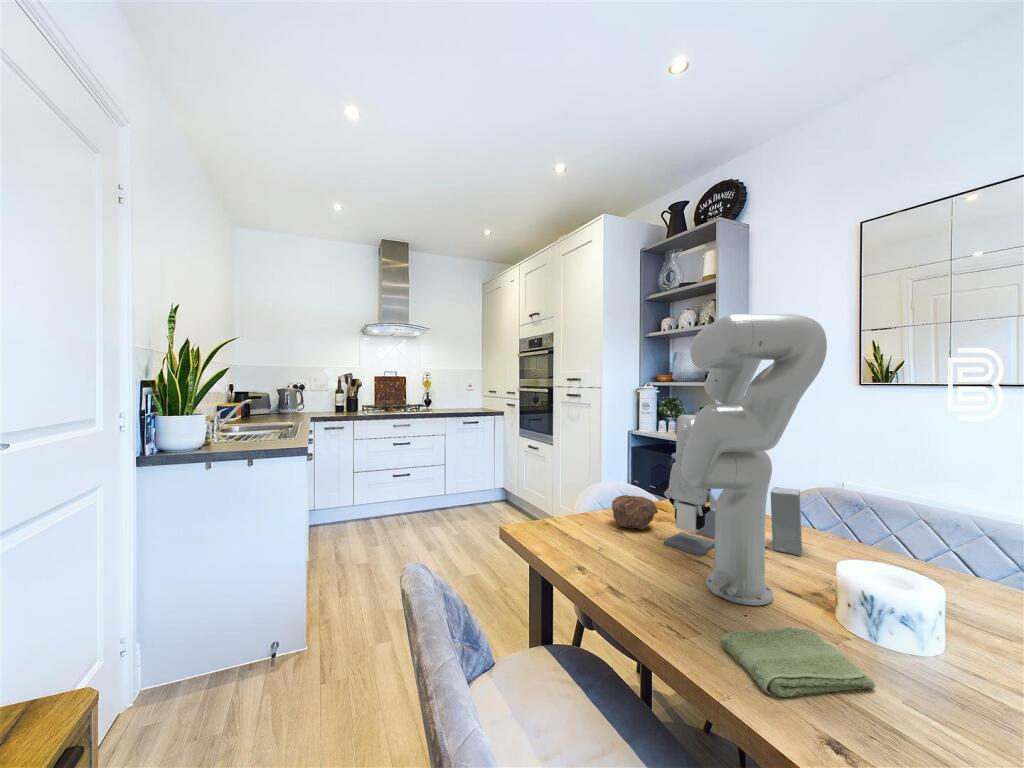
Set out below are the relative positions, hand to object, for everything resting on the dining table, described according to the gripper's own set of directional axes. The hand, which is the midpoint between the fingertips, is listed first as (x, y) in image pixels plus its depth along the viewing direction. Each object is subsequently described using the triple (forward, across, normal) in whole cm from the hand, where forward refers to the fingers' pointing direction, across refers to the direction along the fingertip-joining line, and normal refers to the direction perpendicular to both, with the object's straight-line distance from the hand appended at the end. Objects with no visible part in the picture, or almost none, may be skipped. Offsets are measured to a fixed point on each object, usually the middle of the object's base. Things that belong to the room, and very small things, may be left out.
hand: (689, 524), depth 112 cm
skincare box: (+6, +18, +18) cm, 26 cm away
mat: (+5, 0, 0) cm, 5 cm away
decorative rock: (+6, -18, 0) cm, 19 cm away
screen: (+6, +2, +11) cm, 12 cm away
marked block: (+1, 0, 0) cm, 1 cm away
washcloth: (+5, +33, -35) cm, 48 cm away
